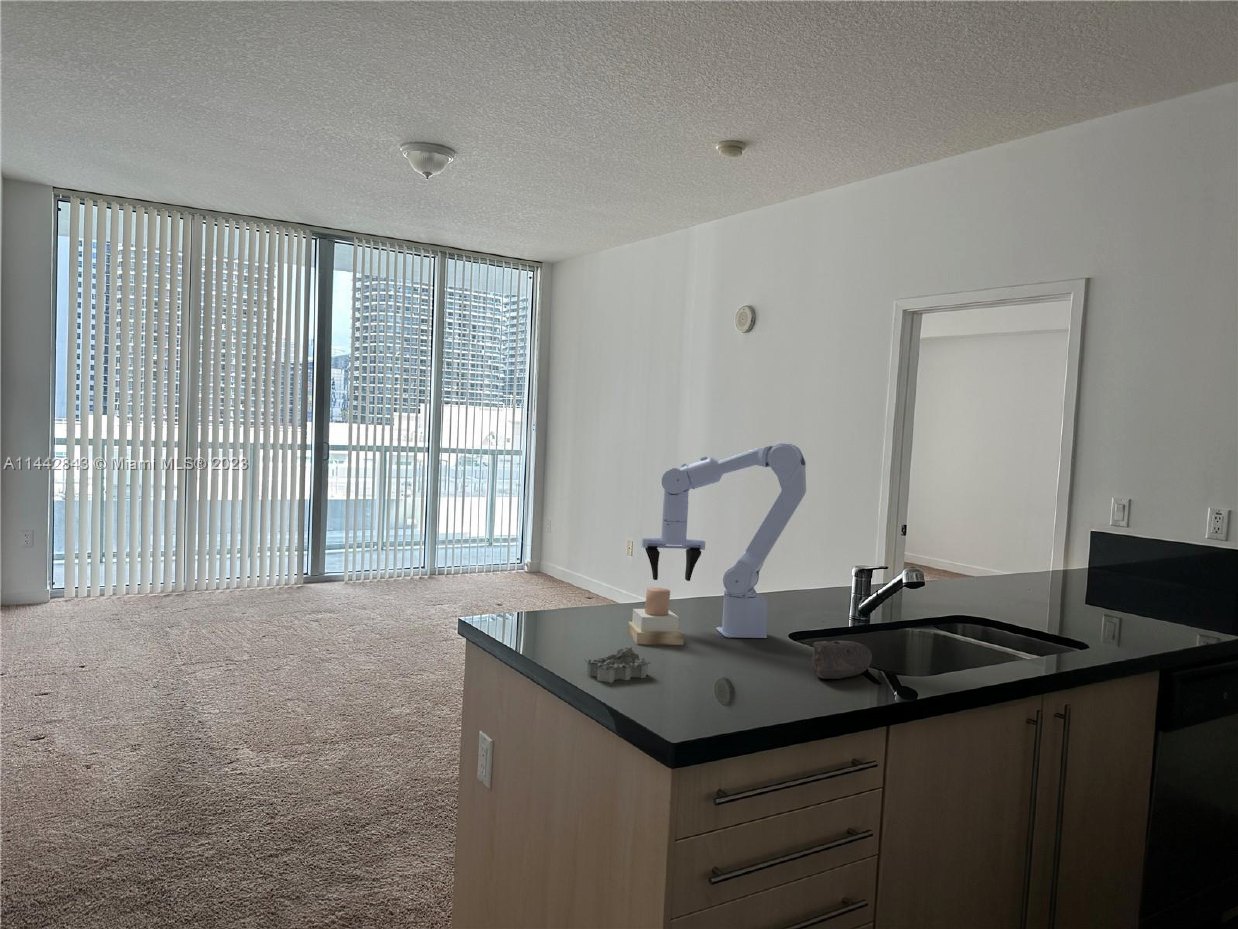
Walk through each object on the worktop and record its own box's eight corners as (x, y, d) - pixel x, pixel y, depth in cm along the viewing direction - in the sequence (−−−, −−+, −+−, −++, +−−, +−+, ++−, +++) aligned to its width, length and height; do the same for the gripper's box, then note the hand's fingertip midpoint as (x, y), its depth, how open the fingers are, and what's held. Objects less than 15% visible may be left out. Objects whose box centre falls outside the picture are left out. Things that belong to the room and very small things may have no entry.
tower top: (667, 622, 180) (668, 609, 180) (678, 631, 173) (678, 617, 173) (632, 622, 179) (633, 608, 179) (641, 631, 171) (641, 617, 171)
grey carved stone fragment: (632, 668, 153) (633, 646, 153) (653, 679, 146) (655, 656, 146) (581, 673, 148) (582, 650, 147) (601, 685, 141) (602, 661, 141)
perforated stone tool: (860, 669, 160) (862, 634, 159) (881, 677, 155) (883, 640, 155) (801, 676, 152) (803, 639, 152) (821, 685, 148) (823, 646, 148)
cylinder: (670, 612, 177) (672, 589, 177) (664, 616, 172) (666, 593, 172) (648, 609, 178) (650, 586, 178) (642, 613, 174) (643, 590, 174)
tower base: (672, 635, 181) (672, 622, 181) (683, 647, 172) (684, 633, 171) (627, 635, 180) (628, 621, 180) (636, 647, 170) (637, 632, 170)
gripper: (700, 520, 194) (697, 577, 194) (640, 517, 191) (637, 575, 192) (709, 523, 187) (705, 583, 187) (646, 521, 184) (642, 581, 185)
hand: (671, 579), depth 189 cm, fingers open, 7 cm apart
